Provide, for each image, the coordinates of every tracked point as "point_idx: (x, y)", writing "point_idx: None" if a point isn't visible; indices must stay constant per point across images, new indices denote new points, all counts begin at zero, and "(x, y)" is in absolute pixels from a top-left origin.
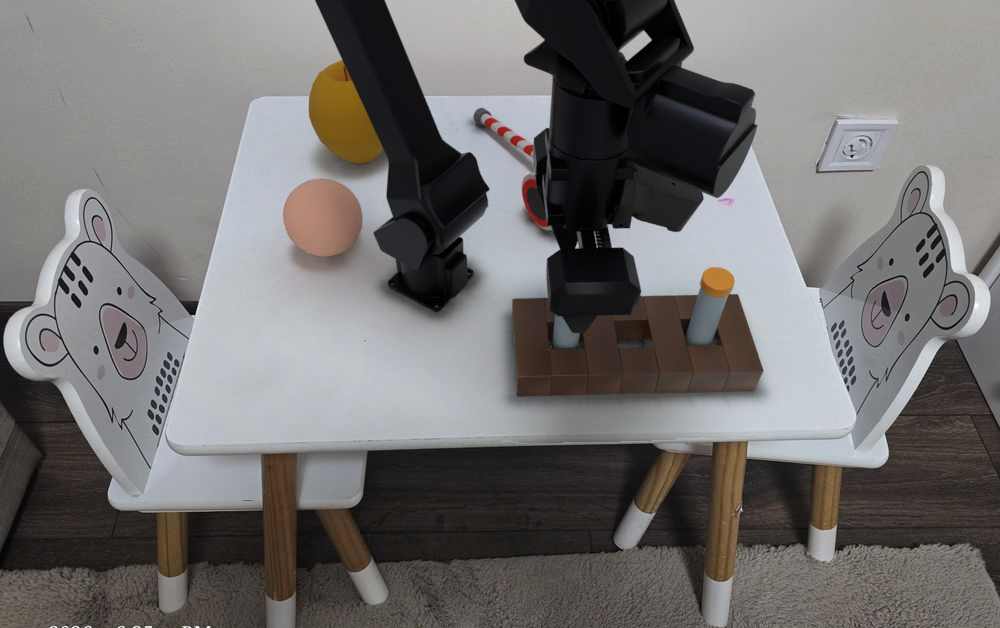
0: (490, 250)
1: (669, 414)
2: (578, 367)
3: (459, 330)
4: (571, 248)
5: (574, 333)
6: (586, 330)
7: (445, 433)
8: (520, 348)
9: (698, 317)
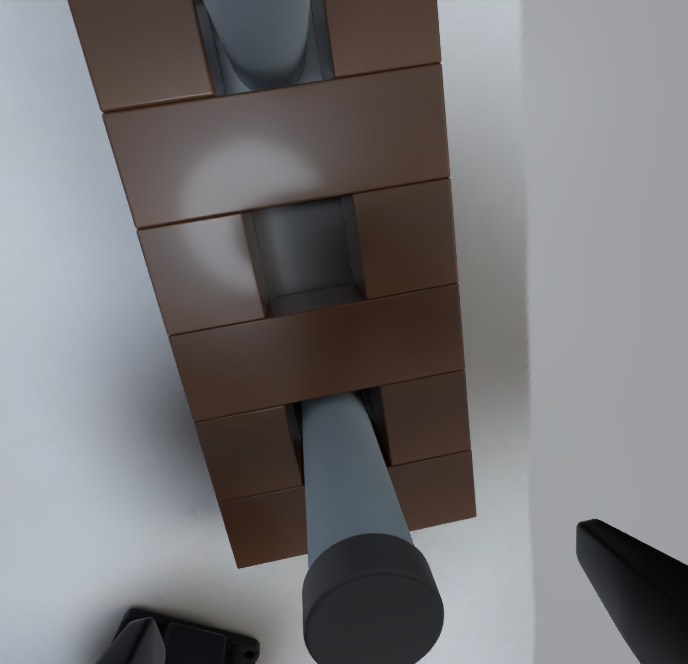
0: (33, 592)
1: (480, 143)
2: (442, 395)
3: (296, 594)
4: (147, 652)
5: (374, 437)
6: (614, 528)
7: (529, 561)
8: None
9: (298, 9)
